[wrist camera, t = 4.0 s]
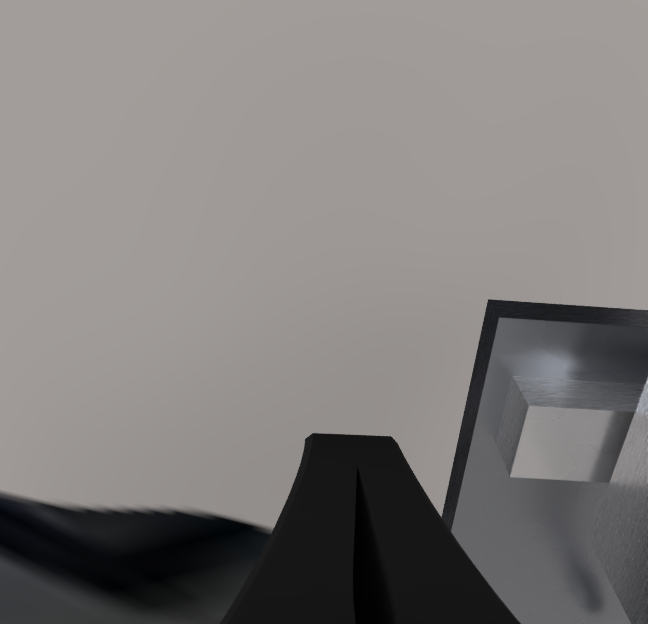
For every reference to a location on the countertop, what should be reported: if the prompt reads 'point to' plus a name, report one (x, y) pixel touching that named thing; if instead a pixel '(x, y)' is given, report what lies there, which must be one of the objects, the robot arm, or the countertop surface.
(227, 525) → the countertop surface
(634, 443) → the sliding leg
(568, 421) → the aluminium mounting plate
